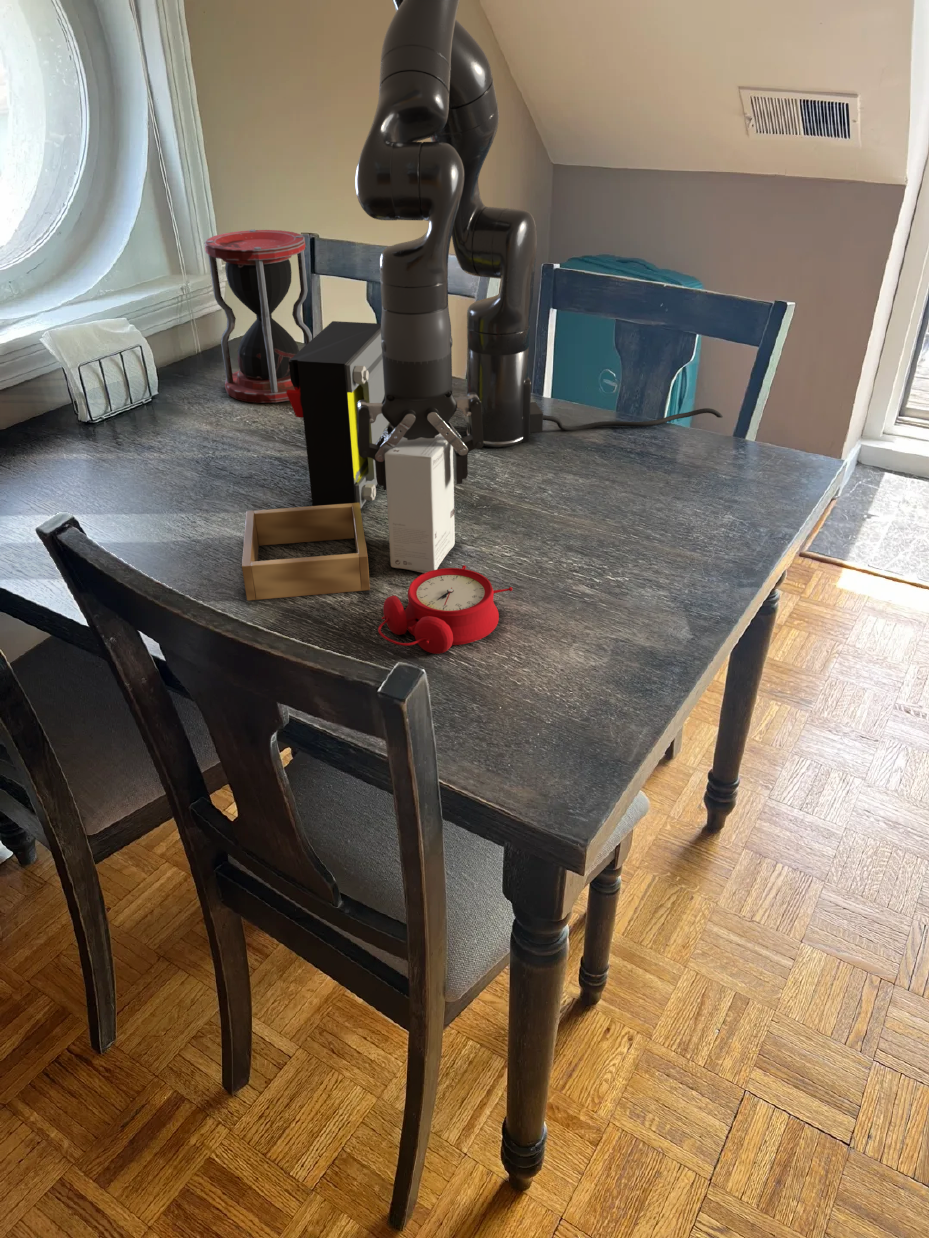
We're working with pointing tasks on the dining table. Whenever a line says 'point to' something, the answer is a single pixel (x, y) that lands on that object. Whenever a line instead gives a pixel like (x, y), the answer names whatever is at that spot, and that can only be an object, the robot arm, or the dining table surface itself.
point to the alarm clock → (444, 609)
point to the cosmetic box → (420, 502)
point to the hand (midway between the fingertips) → (422, 484)
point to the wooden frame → (306, 571)
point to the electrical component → (339, 408)
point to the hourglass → (259, 309)
